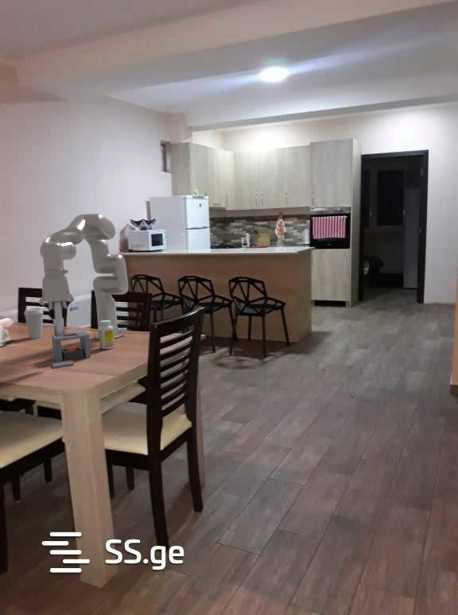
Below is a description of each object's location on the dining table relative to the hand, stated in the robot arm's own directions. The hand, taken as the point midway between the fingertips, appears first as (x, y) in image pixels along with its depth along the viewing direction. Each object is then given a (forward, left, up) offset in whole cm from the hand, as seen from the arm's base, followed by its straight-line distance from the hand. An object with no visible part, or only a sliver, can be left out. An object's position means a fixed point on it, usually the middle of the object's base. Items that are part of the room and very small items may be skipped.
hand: (58, 318), depth 205 cm
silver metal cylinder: (0, 0, -7) cm, 7 cm away
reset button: (-6, -10, -19) cm, 22 cm away
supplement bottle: (-24, -19, -20) cm, 37 cm away
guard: (-6, -10, -20) cm, 23 cm away
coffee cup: (+1, -65, -20) cm, 68 cm away
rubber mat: (0, 0, -20) cm, 20 cm away
